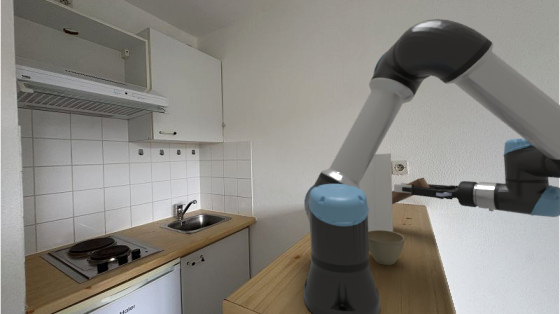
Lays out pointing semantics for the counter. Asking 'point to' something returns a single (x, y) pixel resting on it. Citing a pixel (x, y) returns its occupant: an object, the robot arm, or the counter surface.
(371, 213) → the riser
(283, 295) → the counter surface
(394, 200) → the batten
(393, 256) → the flower pot
